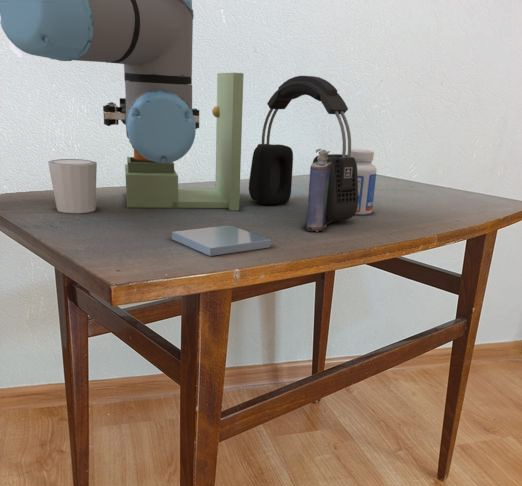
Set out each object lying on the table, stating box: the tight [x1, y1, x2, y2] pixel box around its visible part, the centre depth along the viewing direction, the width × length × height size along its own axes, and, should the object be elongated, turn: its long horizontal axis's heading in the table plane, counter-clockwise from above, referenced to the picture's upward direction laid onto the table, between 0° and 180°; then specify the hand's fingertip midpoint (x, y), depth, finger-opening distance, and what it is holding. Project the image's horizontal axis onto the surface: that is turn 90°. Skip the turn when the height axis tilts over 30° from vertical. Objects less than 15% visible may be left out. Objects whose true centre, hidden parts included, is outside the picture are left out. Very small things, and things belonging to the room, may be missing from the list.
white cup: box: [47, 158, 98, 214], centre depth 88 cm, size 7×7×7 cm
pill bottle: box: [351, 148, 377, 216], centre depth 96 cm, size 6×5×10 cm
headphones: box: [248, 75, 358, 222], centre depth 92 cm, size 22×6×20 cm, turn 35°
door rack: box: [124, 72, 245, 212], centre depth 96 cm, size 18×16×20 cm
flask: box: [305, 148, 332, 233], centre depth 85 cm, size 9×3×11 cm, turn 162°
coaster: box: [171, 224, 272, 257], centre depth 75 cm, size 9×9×1 cm
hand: (147, 110), depth 98 cm, fingers closed on amber bottle, 5 cm apart
